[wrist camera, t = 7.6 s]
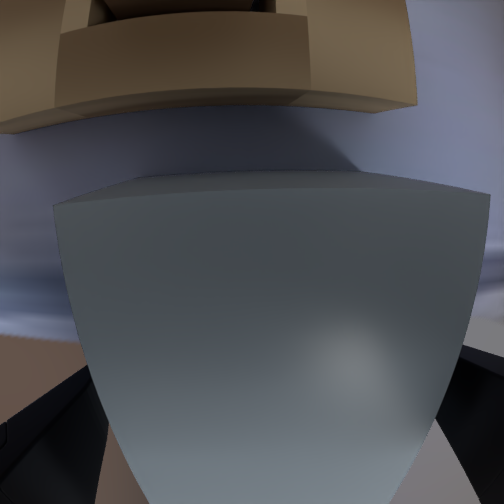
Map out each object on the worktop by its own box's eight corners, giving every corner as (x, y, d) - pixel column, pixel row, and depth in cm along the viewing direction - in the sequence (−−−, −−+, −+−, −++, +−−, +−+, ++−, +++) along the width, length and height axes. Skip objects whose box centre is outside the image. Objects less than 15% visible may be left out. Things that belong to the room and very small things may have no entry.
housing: (337, 409, 13) (385, 507, 7) (176, 427, 12) (173, 540, 7) (361, 171, 10) (490, 194, 4) (137, 177, 9) (52, 205, 4)
